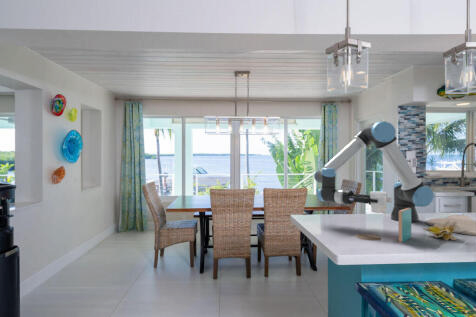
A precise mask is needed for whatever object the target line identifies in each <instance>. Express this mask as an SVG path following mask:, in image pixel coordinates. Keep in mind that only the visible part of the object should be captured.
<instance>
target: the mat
mask: <svg viewBox="0 0 476 317" xmlns="http://www.w3.org/2000/svg"><path fill="white" fill-rule="evenodd" d="M392 242H393V243H397V244H403V245H409V246H415V247H416V246H417V247H419V248H425V249H432V250H437V249H438V248H439V247H441V246H442V245H444V244H446V241H443V240H442V241H441V240H436V239H430V238H424V237H417V236H412V235H411V238H410V239H408V240H406V241H404V242H402V243H401V242H399V237H398V238H396V239H395V240H392Z"/></svg>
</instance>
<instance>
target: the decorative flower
mask: <svg viewBox="0 0 476 317" xmlns="http://www.w3.org/2000/svg"><path fill="white" fill-rule="evenodd" d="M423 230H424V231H425V232H428V233H430V234H431V235H434V236H435V238H442V239H443V240H445V241H449V239H450V240H452V241H456V240H457V238H456V237H455V236H453V233H454V232H457V231H458V230H460V226H458V222H457V221H455V220H454V221H452V220H447V221H446V222H445V223H444V224H443V223H438V222H437V223H434V224H433V225H432V226H429V227H428V228H424V227H423Z"/></svg>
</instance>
